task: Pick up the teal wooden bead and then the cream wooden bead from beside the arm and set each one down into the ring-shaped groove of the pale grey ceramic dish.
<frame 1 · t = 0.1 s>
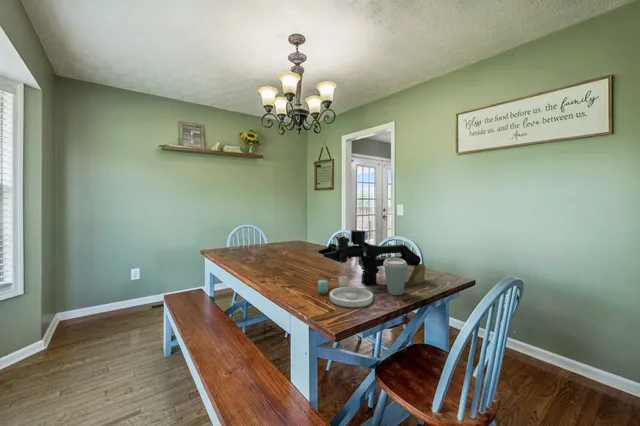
hand: (320, 253, 135), 17 cm above the table, tool horizontal, fingers open, 9 cm apart
groove dish: (351, 299, 121), on the table
teal bead: (322, 292, 130), on the table
brown bread wedge: (415, 283, 144), on the table
disposable coffee cup: (394, 293, 129), on the table
cream bead: (343, 288, 136), on the table
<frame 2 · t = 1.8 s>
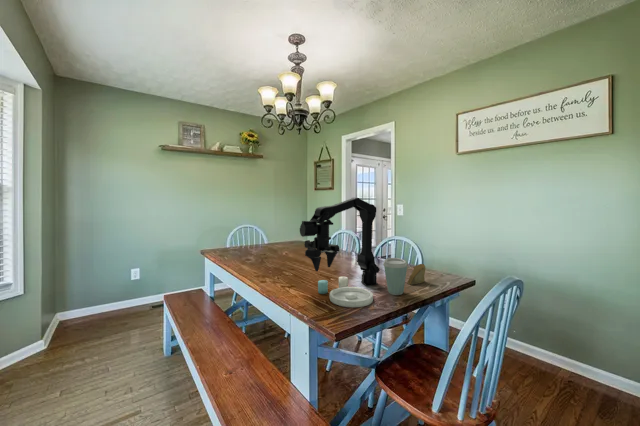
hand: (323, 269, 130), 11 cm above the table, tool pointing down, fingers open, 9 cm apart
nothing on the table moved.
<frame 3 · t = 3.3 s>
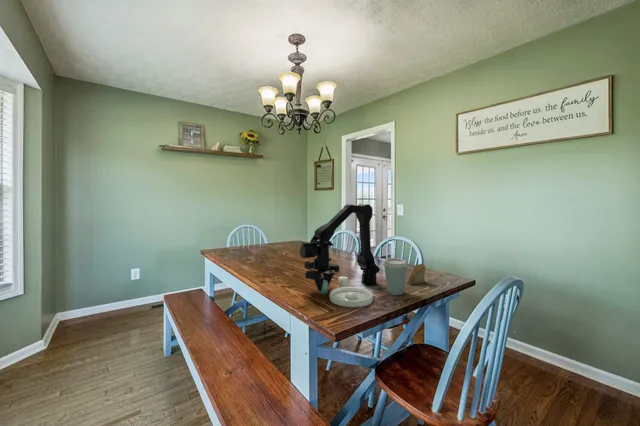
hand: (322, 289, 130), 1 cm above the table, tool pointing down, fingers closed on teal bead, 4 cm apart
teal bead: (322, 292, 130), on the table, touching gripper
everything else where it was.
when the fingers open (3 cm above the table, at t = 7.2 s): teal bead drops 1 cm, resting on groove dish.
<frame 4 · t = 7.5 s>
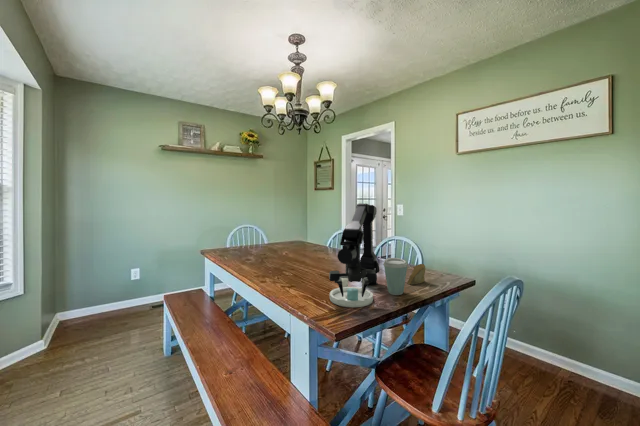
hand: (352, 296, 116), 3 cm above the table, tool pointing down, fingers open, 8 cm apart
teal bead: (352, 302, 116), point 1 cm above the table, touching groove dish
everything else where it was.
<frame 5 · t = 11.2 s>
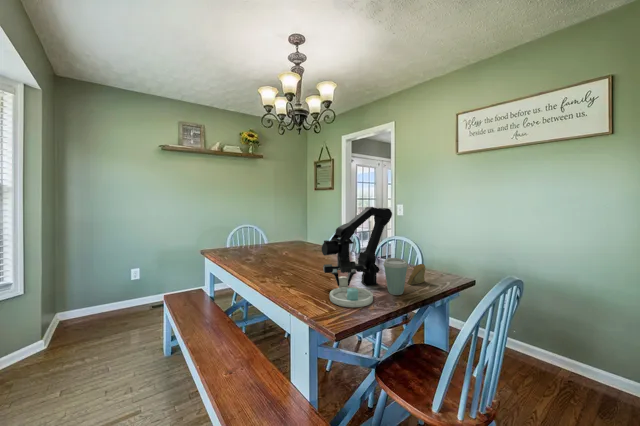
hand: (343, 285, 136), 1 cm above the table, tool pointing down, fingers closed on cream bead, 4 cm apart
cream bead: (343, 288, 136), on the table, touching gripper
everything else where it was.
when the fingers open (3 cm above the table, at t = 14.7 s): cream bead drops 1 cm, resting on groove dish.
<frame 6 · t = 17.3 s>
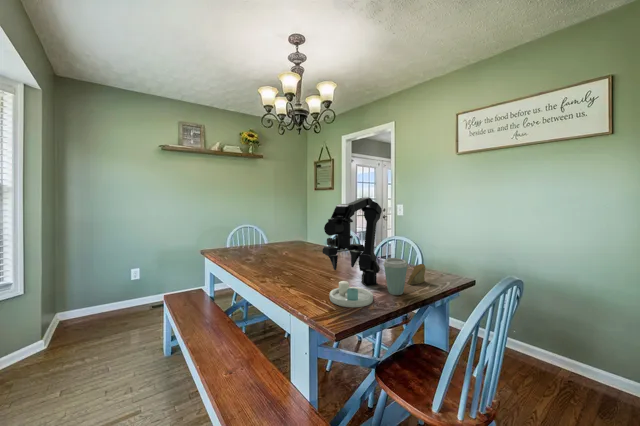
hand: (343, 268, 125), 12 cm above the table, tool pointing down, fingers open, 9 cm apart
cream bead: (343, 293, 126), point 1 cm above the table, touching groove dish
everything else where it was.
at the end: teal bead 0.1 cm from the target spot on the groove dish, point 0.8 cm above the groove dish's base; cream bead 0.1 cm from the target spot on the groove dish, point 0.8 cm above the groove dish's base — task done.
